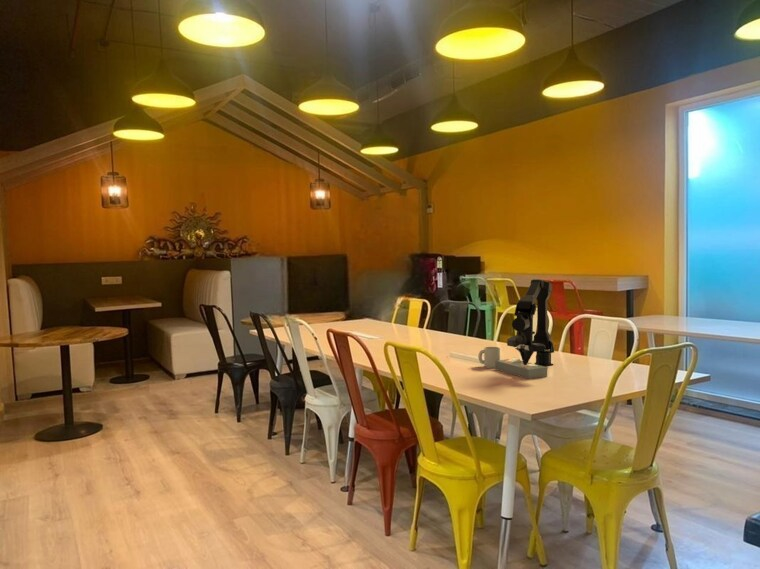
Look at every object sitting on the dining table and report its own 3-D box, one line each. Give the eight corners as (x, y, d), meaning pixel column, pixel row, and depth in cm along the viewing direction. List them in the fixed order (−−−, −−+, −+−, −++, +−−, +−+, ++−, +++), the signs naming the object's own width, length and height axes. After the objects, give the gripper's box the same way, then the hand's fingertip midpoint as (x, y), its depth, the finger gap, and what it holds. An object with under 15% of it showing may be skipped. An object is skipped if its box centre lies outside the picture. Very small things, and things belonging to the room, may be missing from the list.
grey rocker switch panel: (513, 367, 264) (513, 358, 264) (547, 376, 243) (547, 367, 243) (495, 369, 260) (495, 360, 259) (528, 379, 239) (528, 369, 239)
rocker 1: (514, 359, 260) (514, 357, 259) (520, 361, 256) (519, 358, 256) (504, 364, 257) (503, 361, 257) (510, 365, 254) (509, 363, 253)
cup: (499, 368, 261) (499, 349, 261) (478, 367, 264) (477, 348, 263) (500, 365, 268) (500, 346, 268) (478, 364, 271) (478, 346, 270)
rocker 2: (531, 366, 249) (532, 363, 249) (538, 368, 245) (538, 365, 245) (521, 367, 246) (521, 364, 246) (527, 368, 243) (527, 365, 242)
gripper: (497, 327, 249) (496, 362, 250) (525, 332, 232) (524, 369, 233) (517, 326, 254) (517, 360, 254) (546, 331, 237) (545, 368, 237)
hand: (525, 364), depth 245 cm, fingers closed, pressing on rocker 2
